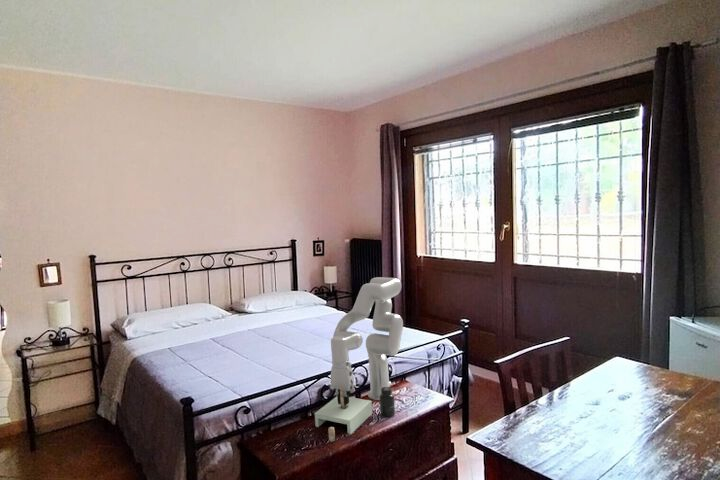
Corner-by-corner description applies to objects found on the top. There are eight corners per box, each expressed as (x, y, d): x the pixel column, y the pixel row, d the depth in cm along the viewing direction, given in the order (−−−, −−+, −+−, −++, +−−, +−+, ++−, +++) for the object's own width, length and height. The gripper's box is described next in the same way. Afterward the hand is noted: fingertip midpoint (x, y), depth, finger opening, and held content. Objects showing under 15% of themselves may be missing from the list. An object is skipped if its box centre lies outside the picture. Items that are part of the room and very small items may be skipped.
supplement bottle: (394, 418, 195) (392, 392, 194) (379, 417, 196) (377, 391, 195) (396, 410, 201) (394, 385, 201) (381, 410, 203) (380, 385, 202)
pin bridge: (339, 407, 209) (338, 395, 209) (372, 413, 200) (371, 400, 200) (315, 426, 192) (314, 413, 191) (350, 434, 183) (349, 420, 182)
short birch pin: (331, 437, 181) (330, 426, 180) (336, 439, 180) (335, 427, 179) (327, 440, 179) (327, 429, 178) (332, 442, 177) (332, 430, 177)
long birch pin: (342, 406, 197) (341, 382, 196) (347, 407, 196) (345, 383, 195) (340, 408, 195) (338, 385, 194) (344, 409, 194) (343, 385, 193)
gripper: (360, 363, 194) (363, 403, 195) (330, 359, 201) (332, 397, 203) (352, 369, 187) (354, 410, 188) (321, 364, 195) (324, 404, 196)
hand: (343, 403), depth 195 cm, fingers closed on long birch pin, 2 cm apart
